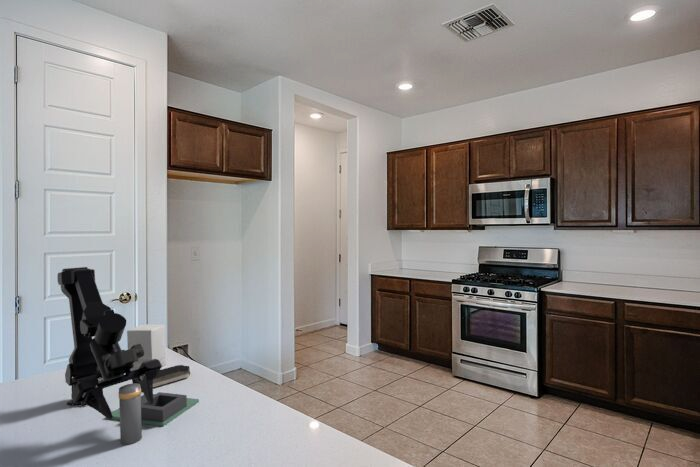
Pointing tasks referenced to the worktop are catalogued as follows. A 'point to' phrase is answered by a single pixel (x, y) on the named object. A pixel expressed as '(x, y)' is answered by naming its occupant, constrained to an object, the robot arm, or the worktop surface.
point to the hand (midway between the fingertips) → (132, 410)
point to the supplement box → (148, 342)
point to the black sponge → (169, 375)
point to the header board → (161, 408)
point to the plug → (130, 413)
